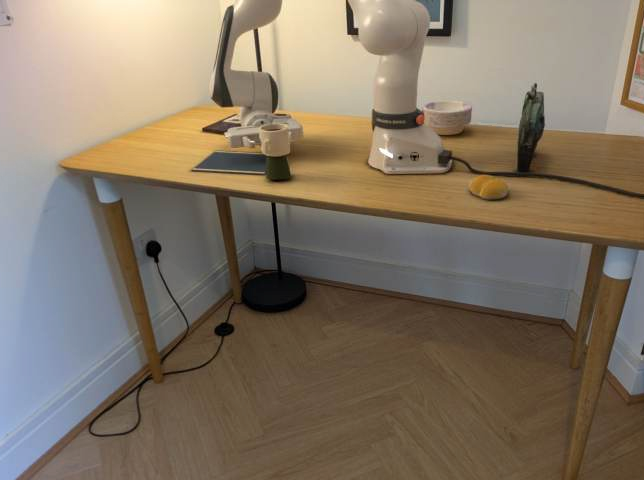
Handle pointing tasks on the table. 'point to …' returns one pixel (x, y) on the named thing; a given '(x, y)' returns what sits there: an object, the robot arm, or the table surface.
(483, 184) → the bread roll
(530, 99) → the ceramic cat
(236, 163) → the napkin
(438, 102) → the paper bowls
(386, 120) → the robot arm
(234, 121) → the chocolate bar
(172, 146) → the table surface
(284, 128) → the character mug
